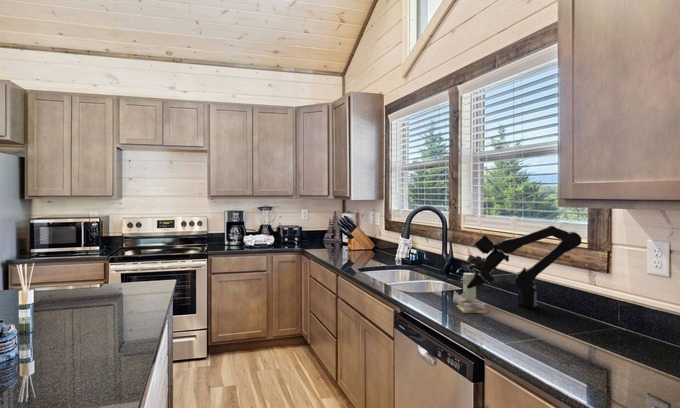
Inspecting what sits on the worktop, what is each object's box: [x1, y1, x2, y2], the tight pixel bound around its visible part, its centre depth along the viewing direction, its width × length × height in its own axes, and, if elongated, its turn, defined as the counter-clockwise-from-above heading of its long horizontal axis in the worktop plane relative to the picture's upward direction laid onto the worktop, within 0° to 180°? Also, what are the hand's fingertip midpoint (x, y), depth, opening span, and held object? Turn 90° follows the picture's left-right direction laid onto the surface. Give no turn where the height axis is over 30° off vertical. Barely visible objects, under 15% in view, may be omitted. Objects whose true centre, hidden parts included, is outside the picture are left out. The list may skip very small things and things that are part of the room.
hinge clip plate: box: [456, 298, 489, 314], centre depth 177 cm, size 10×9×3 cm
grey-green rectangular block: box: [462, 272, 477, 299], centre depth 190 cm, size 5×4×12 cm
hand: (466, 286), depth 190 cm, fingers closed on grey-green rectangular block, 4 cm apart
